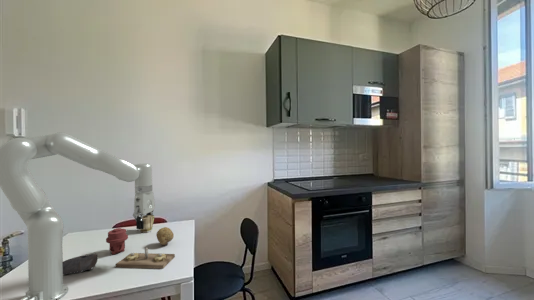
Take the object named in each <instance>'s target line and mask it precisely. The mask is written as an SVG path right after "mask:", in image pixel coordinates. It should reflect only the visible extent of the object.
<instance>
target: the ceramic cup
mask: <svg viewBox="0 0 534 300" xmlns="http://www.w3.org/2000/svg"><path fill="white" fill-rule="evenodd" d="M145 215H146V214H145ZM145 215H144V216H145ZM140 216H141V215H139V217H140ZM152 217H153V223H154V220H155V214H153V215H152ZM153 227H154V225H153V226H152V228H148V229H144V230H139V231H140V233H141V234H147V233H151V232H152V230H153Z"/></svg>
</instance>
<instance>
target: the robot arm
mask: <svg viewBox="0 0 534 300" xmlns="http://www.w3.org/2000/svg"><path fill="white" fill-rule="evenodd" d="M55 155H58V156H61V157H63V158H65V159H68V160H70V161H73V162H75V163H77V164H80V165H82V166H84V167H87V168H89V169H93V170H95V171H100V172H103V173H106V174H108V175H110V176H113V177H115V178H116V179H117V180H119V181H123V182H127V183H133V182H134V202H133V203H134V204H133V213H132V216H133V219H134V220H135V222H136V225H135V226H136V229H137V230H139V229H143V228H144V223H143V215H150V216H152V215H154V210H155V208H156V204H155V203H156V201H155V195H154V191H153V167H152V164H151V163H137V164H133V163H131V162H128V161H126V160H124V159H121V158H119V157H118V156H115V155H113V154H111V153H109V152H108V151H107V152H106V151H105V150H103V149H101V148H98V147H96V146H93V145H92V144H90V143H89V142H88V143H87V142H85V141H84V140H81V139H79V138H78V137H75V136H73V135H71V134H68V133H66V132H56V133H52V134H46V135H39V136H33V137H30V136H29V137H24V138H23V137H18V138H12V139H10V140H8V141H7V142H5V143H4V144H2V146H1V147H0V189H1V191H2V192H3V193H4V195H5V196H6V198H7V200H8V201H9V203H10V206H11V208H12V209H13V210H14V211H15V212H16V213H17V214H18V215H19V217H20V219H21V220H22V221H23V222H24V224H25V226H26V229H27V260H28V261H27V263H28V264H27V265H28V268H27V269H28V272H27V273H28V274H27V275H28V278H27V279H28V290H27V291H25V295H24V296H23V297H22V298H21V299H19V300H56V299H57V300H59V299H61V298H63V297H64V296H65V295H66V294H67V293H68V291H69V286H68V285H67V284H64V274H63V259H64V258H63V255H64V254H63V240H64V239H63V236H64V235H63V234H64V223H63V222H64V221H63V219H62V217H61V216H60V215H59V214H58V212H57V211H56V209H55V208H54V206H53V205H52V203H51V201H50V200H49V198H48V196H47V195H46V193H45V191H44V190H43V189H42V188H41V187H40V186H39V185H38V183H37V182H36V180H35V178H34V176H33V174H32V173H31V170H30V169H29V162H30V161H31V160H34V159H39V158H40V159H42V158H45V157H46V158H47V157H50V156H55ZM139 216H141V217H139Z"/></svg>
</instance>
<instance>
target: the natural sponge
mask: <svg viewBox="0 0 534 300" xmlns="http://www.w3.org/2000/svg"><path fill="white" fill-rule="evenodd" d="M155 237H156V239H157V241H158V243H159V245H162V246H165V245H167V244H168V243H170V242H171V241H172V240H173V239H174V232H173V230H172V229H171V228H170V227H166V226H164V227H161V228H159V229H158V230H157V232H156V236H155Z"/></svg>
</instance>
